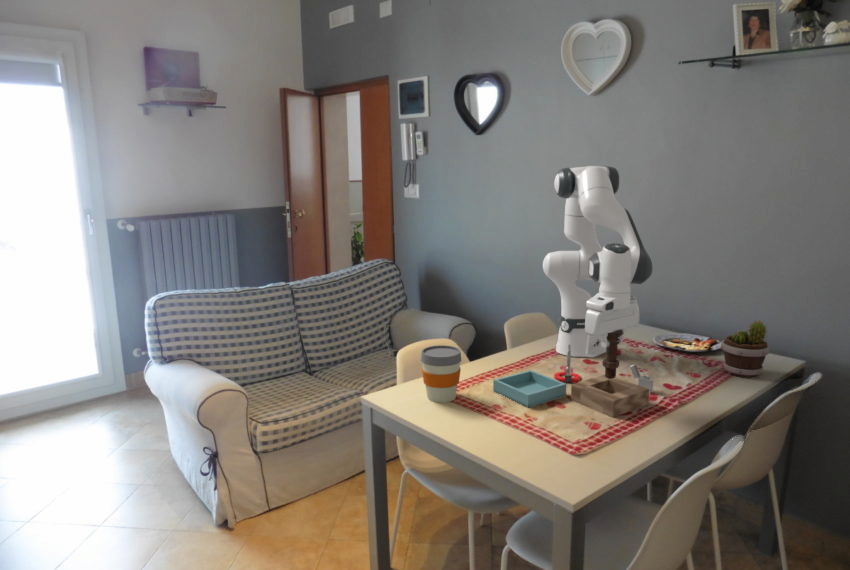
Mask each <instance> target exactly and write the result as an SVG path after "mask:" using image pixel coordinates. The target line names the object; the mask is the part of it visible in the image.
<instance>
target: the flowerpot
mask: <svg viewBox="0 0 850 570" xmlns="http://www.w3.org/2000/svg"><path fill="white" fill-rule="evenodd" d="M761 319H762V318H759V320H758V319H754V321H753V322H752V323H751V324H749V326H748V327H749V329H748V328H747V329H741V328H740V329H739V330H738V331H736V332H735V333H734V334H732V335H728V336H726V338H725V339H723V340H721V349H720V350H723V356H724V361H723V368H724V369H725V370H727V371H726V372H727V373H728V372H730V373H732V374H733V375H732V374H731V375H732V376H734V375H735V377H739V378H744V377H745V378H747V379H748V378H749V379H752V377H753V378H756V376H757V377H758V376H760V374H762V373H763V370H764V366H763V364H764V362H765V359H766V356H768V355H769V354H770V352H771V351H770V350H771V349H770V348H771V347H770V345H769V344H768V342H767V341H765V339H767V337H768V336H767V334H768V330H767V328H766V327H767V325H766V324H765V322H763V321H761ZM764 324H765V325H764Z"/></svg>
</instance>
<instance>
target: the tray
mask: <svg viewBox="0 0 850 570" xmlns="http://www.w3.org/2000/svg"><path fill="white" fill-rule="evenodd" d="M492 383H493V386H492V387H493V388H492V391H494V392H493V393H495V392H496V393H495V394H497V393H498V394H497V395H499V394H501V395H503V396H505V397H504V398H506V397H507V398H506V399H508V398H509V399H508V400H510V399H511V400H510V401H512V402H514V401H515V402H514V403H516V402H517V403H516V404H518V403H519V405H520V404H521V406H523V407H525V408H527V407H528V408H527V409H529V408H532V406H533V407H535V405H536V406H539V405H541V404H545V402H546V403H548V401H549V402H551V401H555V400H559V399H562V398H565V397H566V396H567V383H565V382H560V381H558V379H556V378H553V377H550V376H547V375H545V374H543V373H539V372H538V371H537V372H536V371H534V370H532V369H530V370H526V371H522V372H518V373H515V374H510V375H507V376H502V377H499V378H494V379H493V381H492ZM501 395H500V396H501ZM503 396H502V397H503ZM564 396H565V397H564ZM561 397H562V398H561ZM558 398H559V399H558ZM538 404H539V405H538Z"/></svg>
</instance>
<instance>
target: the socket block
mask: <svg viewBox="0 0 850 570" xmlns="http://www.w3.org/2000/svg"><path fill="white" fill-rule="evenodd" d="M570 384H571V387H570V389H571V390H570V400H571V401H572V400H573V401H572V402H575V403H577V404H579V403H580V405H582V406H584V405H585V406H584V407H587V408H589V407H590V408H589V409H591V408H592V410H594V409H595V410H594V411H596V412H598V411H599V412H598V413H601V414H604V415H606V416H609V417H611V418H615V417H618V416H620V415H623V414H627V413H630V412H632V411H634V410H638V409H641V408H644V407H646V406H645V405H647V406H649V405H648V404H649V403H650V393H649V389H648V388H645V387H642V386H640V385H638V383H633V382H631V381H628V380H625V379H622V378H620V377H617V376H616V377H615V378H613V379H608V378H607V377H605V374H602V375H598V376H596V377H592V378H589V379H585V380H581V381H579V382H578V383H570ZM643 406H644V407H643ZM640 407H641V408H640ZM629 411H630V412H629Z"/></svg>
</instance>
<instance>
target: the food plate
mask: <svg viewBox="0 0 850 570" xmlns="http://www.w3.org/2000/svg"><path fill="white" fill-rule="evenodd" d="M680 339H687V340H694V341H693V342H692V341H687V340H680ZM652 341H653V342H654V343H655V344H657V345H659V346H661V347H665V348H669V349H671V350H673V349H674V350H678V351H685V352H691V353H708V352H715V351H718V350H722V349H721V342H722V340H718V339H716V338H712V337H711V336H710V337H709V336H705V335H699V334H692V333H683V332H682V333H680V332H679V333H677V332H676V333H663V334H659V335H657V336H654V337H653V340H652ZM703 341H704V342H703ZM690 345H691V346H690ZM711 347H712V348H711Z"/></svg>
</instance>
